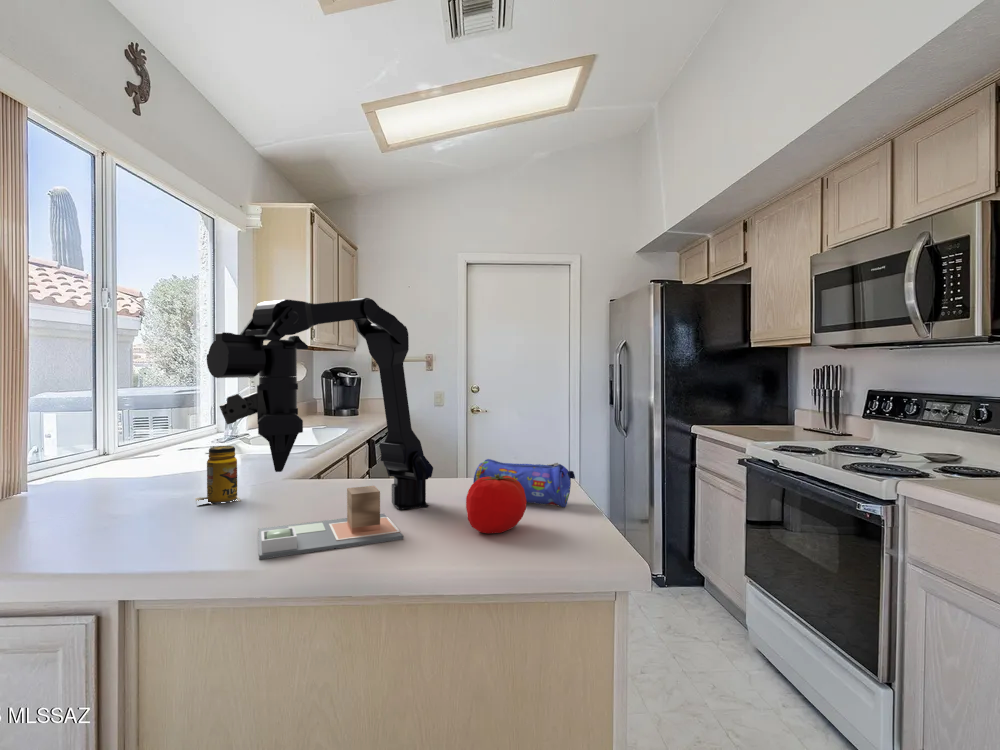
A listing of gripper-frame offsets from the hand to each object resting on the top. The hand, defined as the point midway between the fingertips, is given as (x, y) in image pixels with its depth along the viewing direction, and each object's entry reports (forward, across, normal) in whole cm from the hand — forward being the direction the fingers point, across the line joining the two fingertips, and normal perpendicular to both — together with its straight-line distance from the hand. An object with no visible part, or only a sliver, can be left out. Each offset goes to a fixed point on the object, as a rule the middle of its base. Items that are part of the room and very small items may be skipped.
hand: (278, 471), depth 87 cm
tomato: (+13, +6, +37) cm, 40 cm away
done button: (+12, 0, 0) cm, 12 cm away
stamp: (+12, -4, +14) cm, 19 cm away
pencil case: (+13, -10, +51) cm, 53 cm away
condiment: (+13, -40, -11) cm, 43 cm away
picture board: (+13, -4, +8) cm, 16 cm away
